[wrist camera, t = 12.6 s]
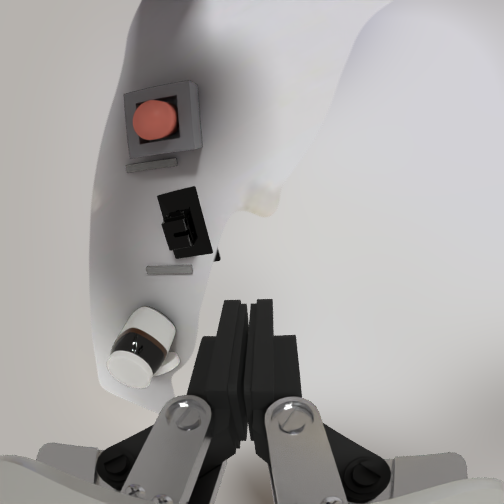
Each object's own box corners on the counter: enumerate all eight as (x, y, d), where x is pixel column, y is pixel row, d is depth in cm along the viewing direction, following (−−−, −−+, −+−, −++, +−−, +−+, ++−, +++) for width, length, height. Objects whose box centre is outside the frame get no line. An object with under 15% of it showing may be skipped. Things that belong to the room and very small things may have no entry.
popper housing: (137, 96, 30) (123, 94, 27) (197, 84, 30) (189, 80, 26) (143, 154, 34) (130, 159, 30) (202, 146, 33) (194, 149, 29)
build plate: (221, 259, 40) (216, 276, 36) (173, 266, 41) (164, 283, 37) (199, 172, 35) (189, 179, 31) (148, 185, 36) (134, 194, 32)
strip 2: (147, 266, 41) (145, 268, 40) (191, 264, 40) (190, 266, 39) (148, 272, 41) (147, 274, 40) (192, 271, 40) (191, 273, 40)
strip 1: (127, 165, 34) (125, 165, 34) (176, 157, 34) (174, 158, 33) (128, 172, 35) (126, 173, 34) (177, 165, 34) (175, 166, 34)
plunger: (145, 105, 29) (131, 104, 26) (179, 99, 29) (168, 96, 25) (148, 140, 31) (134, 142, 27) (182, 134, 31) (172, 136, 27)
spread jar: (148, 293, 43) (118, 342, 32) (203, 334, 46) (189, 388, 35) (118, 330, 47) (91, 375, 36) (167, 365, 50) (150, 413, 39)
